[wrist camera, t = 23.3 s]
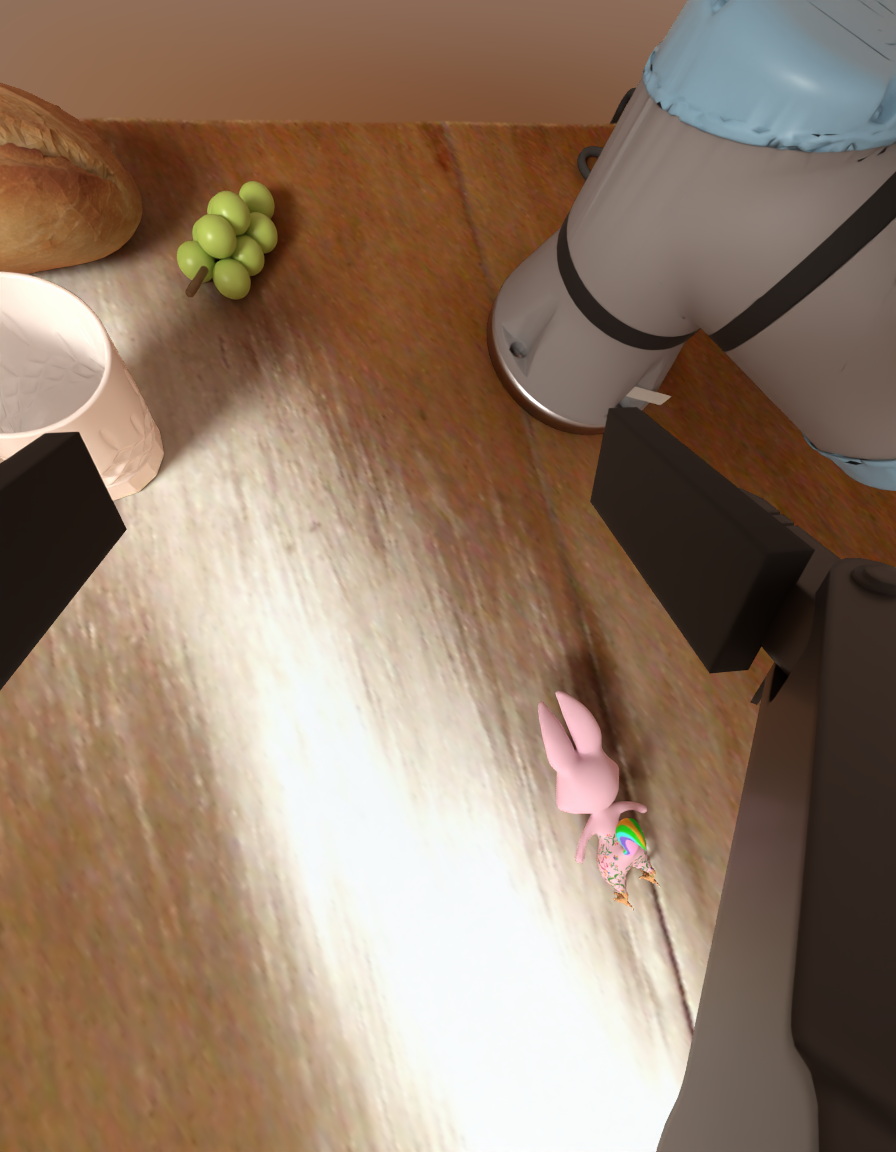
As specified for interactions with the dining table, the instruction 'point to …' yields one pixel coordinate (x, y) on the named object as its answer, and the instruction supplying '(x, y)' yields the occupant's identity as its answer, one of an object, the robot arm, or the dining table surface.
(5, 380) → the white cup
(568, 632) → the dining table surface
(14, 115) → the bread roll
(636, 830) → the rabbit figure
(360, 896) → the dining table surface
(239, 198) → the grapes
